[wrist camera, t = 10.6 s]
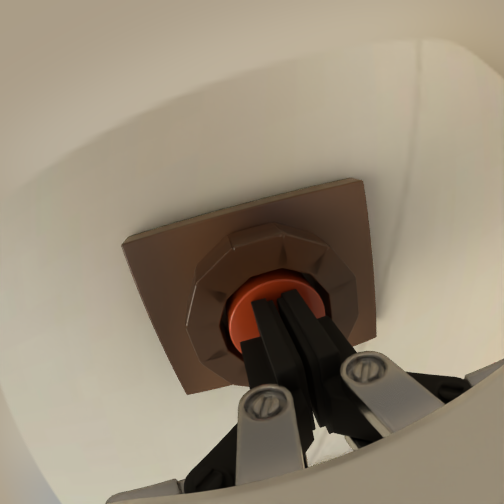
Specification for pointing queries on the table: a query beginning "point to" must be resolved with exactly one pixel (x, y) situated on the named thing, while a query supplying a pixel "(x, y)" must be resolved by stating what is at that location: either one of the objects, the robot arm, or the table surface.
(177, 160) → the table surface
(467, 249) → the table surface
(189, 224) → the button block
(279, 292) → the button
